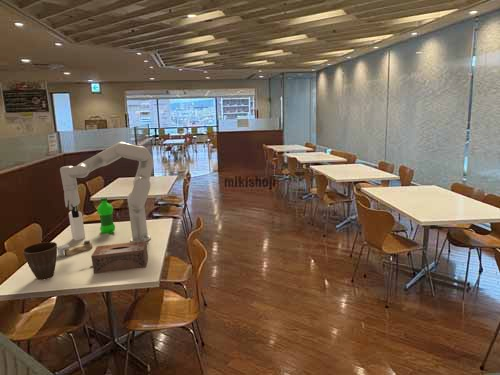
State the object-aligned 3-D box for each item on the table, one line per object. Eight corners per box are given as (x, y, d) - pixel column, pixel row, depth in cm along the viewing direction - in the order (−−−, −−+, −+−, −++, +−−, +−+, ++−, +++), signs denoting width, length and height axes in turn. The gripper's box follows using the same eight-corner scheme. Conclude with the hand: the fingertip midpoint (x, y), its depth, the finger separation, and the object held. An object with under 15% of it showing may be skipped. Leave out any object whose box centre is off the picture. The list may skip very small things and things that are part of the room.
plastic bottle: (97, 235, 249) (91, 199, 244) (107, 230, 259) (102, 195, 254) (109, 236, 246) (104, 199, 241) (119, 231, 256) (114, 196, 251)
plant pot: (66, 275, 188) (61, 245, 184) (34, 286, 177) (29, 255, 174) (55, 268, 198) (50, 240, 194) (24, 278, 187) (18, 248, 183)
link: (89, 246, 225) (88, 239, 224) (94, 247, 222) (93, 240, 221) (64, 254, 213) (63, 247, 212) (68, 256, 210) (67, 249, 209)
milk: (76, 242, 237) (71, 209, 232) (72, 240, 241) (67, 208, 236) (86, 240, 241) (80, 207, 236) (82, 238, 245) (77, 206, 240)
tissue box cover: (93, 274, 188) (91, 255, 186) (99, 263, 202) (97, 246, 200) (145, 267, 192) (143, 249, 190) (148, 257, 206) (146, 240, 204)
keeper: (71, 256, 213) (70, 246, 212) (61, 259, 209) (59, 249, 208) (69, 254, 217) (67, 244, 215) (58, 257, 213) (57, 246, 212)
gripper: (69, 185, 222) (74, 214, 226) (58, 190, 208) (64, 221, 212) (81, 184, 223) (87, 213, 227) (71, 189, 208) (77, 220, 212)
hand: (75, 217), depth 219 cm, fingers closed
